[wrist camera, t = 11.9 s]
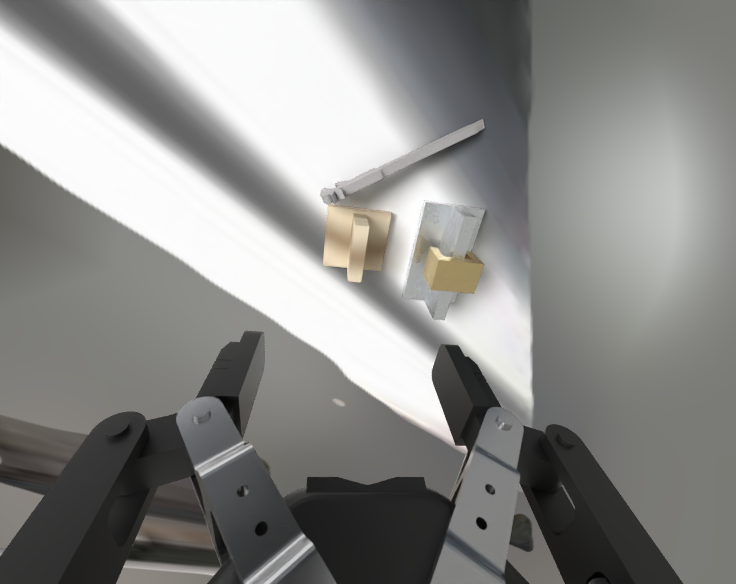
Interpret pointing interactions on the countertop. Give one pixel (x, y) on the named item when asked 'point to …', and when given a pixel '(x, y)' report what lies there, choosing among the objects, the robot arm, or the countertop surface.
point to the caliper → (398, 164)
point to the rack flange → (440, 249)
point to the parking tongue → (355, 239)
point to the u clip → (452, 272)
